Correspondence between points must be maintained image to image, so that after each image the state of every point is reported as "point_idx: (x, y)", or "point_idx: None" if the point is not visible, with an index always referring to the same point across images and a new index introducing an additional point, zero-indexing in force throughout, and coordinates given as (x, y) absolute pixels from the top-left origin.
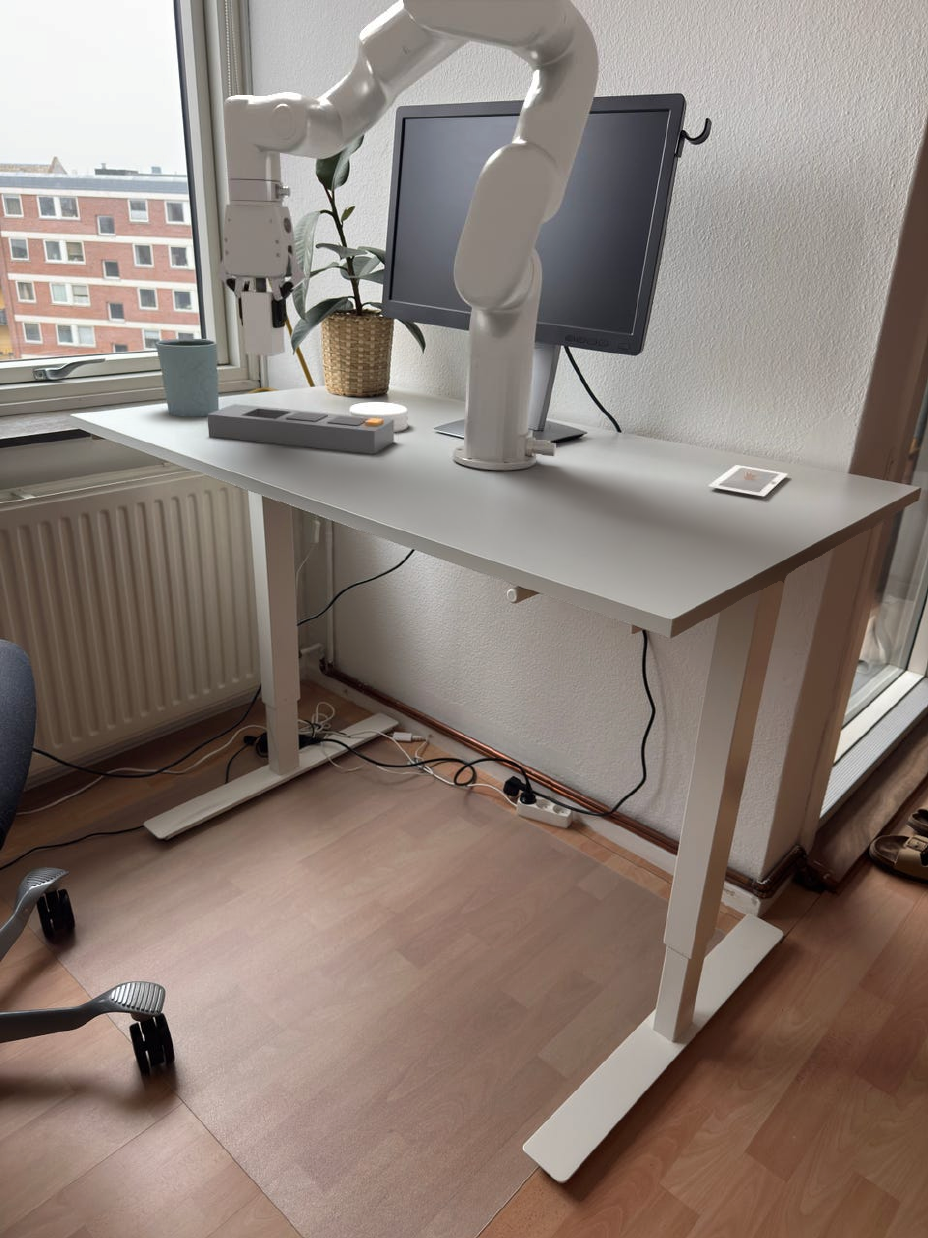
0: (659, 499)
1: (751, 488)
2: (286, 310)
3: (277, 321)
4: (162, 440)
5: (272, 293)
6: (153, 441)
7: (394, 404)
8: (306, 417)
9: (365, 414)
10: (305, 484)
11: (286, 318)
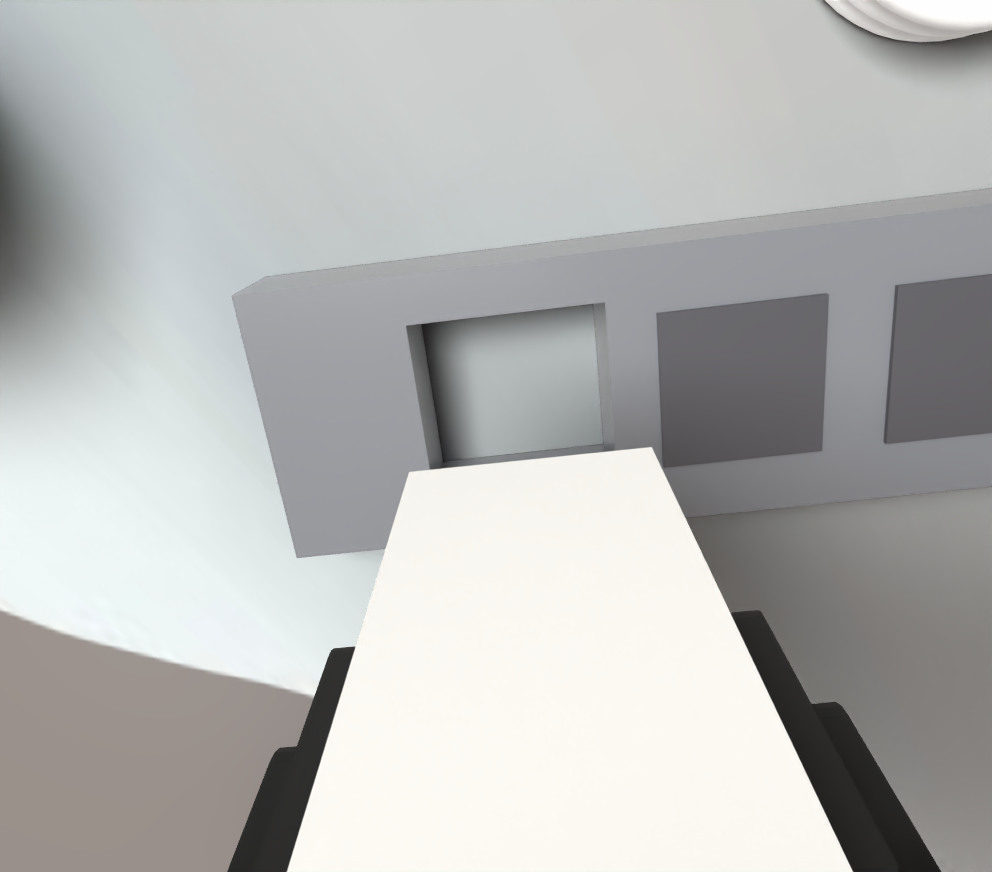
0: None
1: None
2: (887, 782)
3: None
4: (229, 637)
5: None
6: (216, 661)
7: None
8: (752, 409)
9: (975, 27)
10: (940, 823)
11: (840, 713)
